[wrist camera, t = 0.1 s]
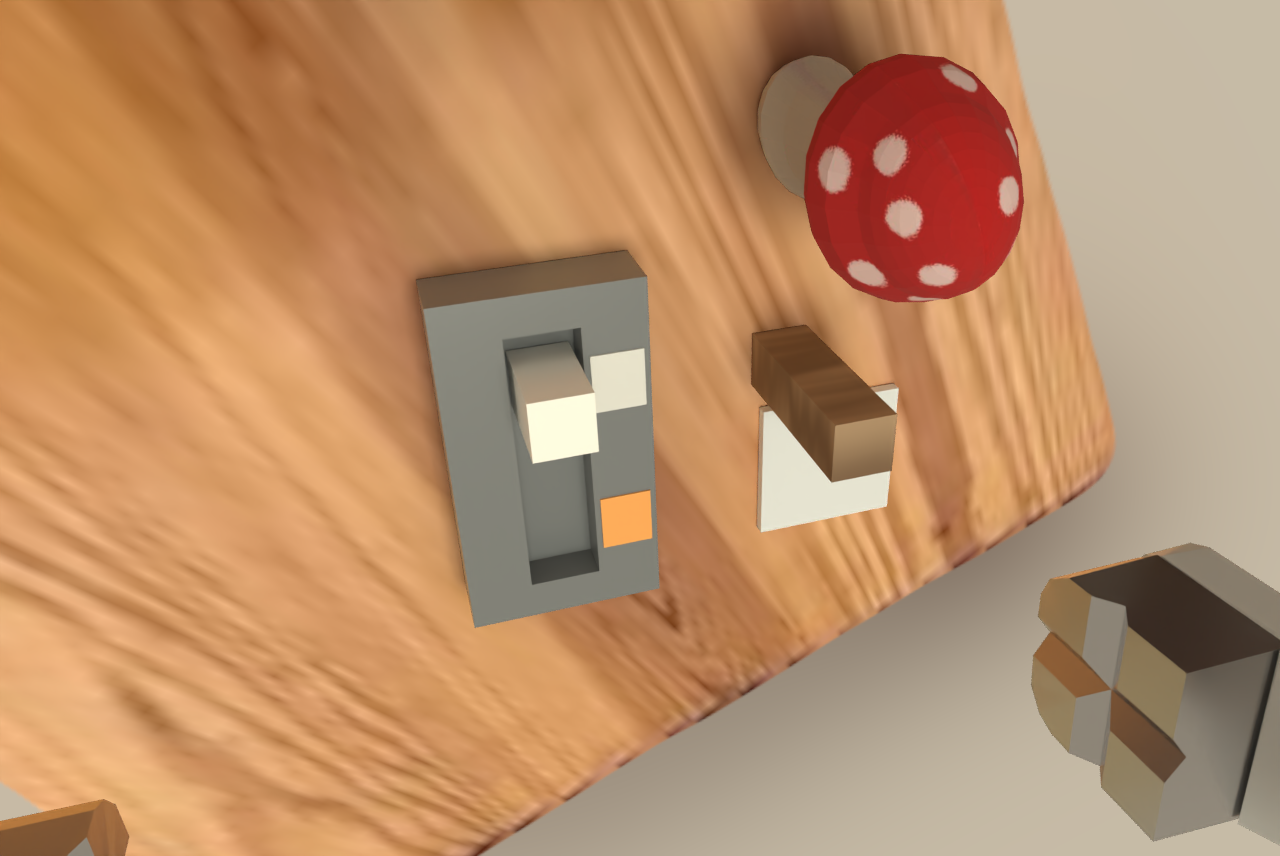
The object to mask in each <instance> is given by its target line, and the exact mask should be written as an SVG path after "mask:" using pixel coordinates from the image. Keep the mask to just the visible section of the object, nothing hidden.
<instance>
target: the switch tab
mask: <svg viewBox="0 0 1280 856" xmlns="http://www.w3.org/2000/svg"><path fill="white" fill-rule="evenodd" d="M506 358H507V367H508V375H509V384H510V392H511V400H512V407H513V410H514V413H515V416H516V418H517V421H518V424H519V427H520V429H521V432H522V435H523V438H524V441H525V443H526V446H527V449H528V452H529V454H530V457H531V460H532V463H533V464H534V463H540V462H545V461H550V460H556V459H561V458H567V457H572V456H578V455H583V454H589V453H594V452H599V445H598V431H597V417H596V403H595V392H594V390H593V388H592V386H591V385H590V383H589V381H588V379H587V377H586V375H585V373H584V371H583V369H582V367H581V365H580V363H579V361H578V359H577V358H576V356H575V354H574V352H573V350H572V348H571V346H570V344H569V342H568V341H566V342H560V343H554V344H547V345H541V346H535V347H528V348H522V349H516V350H509V351H506Z"/></svg>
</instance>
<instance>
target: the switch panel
mask: <svg viewBox="0 0 1280 856" xmlns="http://www.w3.org/2000/svg"><path fill="white" fill-rule="evenodd" d="M416 283H417V289H418V295H419V301H420V307H421V313H422V320H423V326H424V332H425V338H426V344H427V350H428V356H429V363H430V369H431V375H432V381H433V387H434V393H435V399H436V405H437V412H438V418H439V424H440V430H441V436H442V442H443V448H444V454H445V461H446V467H447V473H448V479H449V485H450V491H451V497H452V503H453V510H454V516H455V522H456V528H457V534H458V540H459V546H460V553H461V559H462V565H463V571H464V577H465V583H466V589H467V593H468V598H469V603H470V607H471V612H472V617H473V622H474V626H475V628H476V627H481V626H486V625H490V624H495V623H500V622H504V621H509V620H513V619H518V618H523V617H527V616H532V615H537V614H541V613H546V612H551V611H555V610H560V609H565V608H569V607H574V606H579V605H583V604H588V603H592V602H597V601H602V600H606V599H611V598H616V597H620V596H625V595H630V594H634V593H639V592H644V591H648V590H653V589H658V588H659V566H658V541H657V516H656V490H655V465H654V439H653V414H652V388H651V363H650V337H649V312H648V286H647V276H646V274H645V273H644V272H643V270H642V269H641V268H640V267H639V265H638V264H637V263H636V261H635V260H634V259H633V258H632V256H631V255H630V254H629V252H628V251H627V250H625V251H618V252H610V253H603V254H596V255H589V256H582V257H575V258H568V259H560V260H553V261H546V262H539V263H532V264H525V265H518V266H510V267H503V268H496V269H489V270H482V271H475V272H468V273H460V274H453V275H446V276H439V277H432V278H425V279H418V280H416ZM566 341H568V342H569V344H570V346H571V348H572V350H573V352H574V354H575V356H576V358H577V359H578V361H579V363H580V365H581V367H582V369H583V371H584V373H585V375H586V377H587V379H588V381H589V383H590V385H591V386H592V388H593V390H594V392H595V403H596V417H597V431H598V445H599V452H594V453H589V454H583V455H578V456H572V457H567V458H561V459H556V460H550V461H545V462H540V463H534V464H533V463H532V460H531V457H530V454H529V452H528V449H527V446H526V443H525V441H524V438H523V435H522V432H521V429H520V427H519V424H518V421H517V418H516V416H515V413H514V410H513V407H512V400H511V392H510V384H509V375H508V367H507V358H506V351H509V350H516V349H522V348H528V347H535V346H541V345H547V344H554V343H560V342H566Z"/></svg>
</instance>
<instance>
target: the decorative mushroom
mask: <svg viewBox="0 0 1280 856" xmlns="http://www.w3.org/2000/svg"><path fill="white" fill-rule="evenodd" d="M758 133H759V137H760V142H761V146H762V149H763V152H764V155H765V157H766V160H767V162H768V164H769V165H770V167H771V169H772V171H773V173H774V175H775V177H776V178H777V179H778V180H779V181H780V182H781V183H782V184H783V185H784V186H785V187H786V188H787V189H788V190H789V191H790V192H791V193H794V194H796V195H798V196H800V197H802V198H804V199H805V203H806V208H807V213H808V218H809V222H810V227H811V231H812V234H813V236H814V239H815V240H816V242H817V244H818V246H819V248H820V249H821V251H822V253H823V255H824V257H825V259H826V260H827V262H828V264H829V266H830V268H832V269H833V270H834V271H835V272H836V273H837V274H838V275H839V276H840V277H842V278H843V279H844V280H845V281H846V282H847V283H848V284H849V285H850V286H852V287H853V288H854V289H857V290H860V291H862V292H865V293H867V294H870V295H873V296H875V297H878V298H881V299H884V300H888V301H893V302H927V301H933V300H939V299H949V298H952V297H955V296H958V295H961V294H964V293H967V292H970V291H972V290H974V289H976V288H977V287H979V286H980V285H981V284H983V283H984V282H985V281H987V280H988V279H989V278H990V277H992V276H993V275H994V274H995V273H996V272H997V270H998V269H999V267H1000V266H1001V265H1002V263H1003V262H1004V261H1005V259H1006V258H1007V257H1008V255H1009V254H1010V252H1011V249H1012V247H1013V244H1014V242H1015V239H1016V237H1017V235H1018V232H1019V229H1020V223H1021V217H1022V210H1023V204H1024V197H1023V186H1022V174H1021V170H1020V166H1019V156H1018V143H1017V139H1016V137H1015V134H1014V131H1013V129H1012V126H1011V124H1010V121H1009V118H1008V116H1007V113H1006V110H1005V109H1004V108H1003V107H1002V105H1001V104H1000V103H999V102H998V101H997V99H996V98H995V97H994V96H993V95H992V94H991V92H990V91H989V90H988V89H987V88H986V86H985V85H984V84H983V83H982V82H981V81H980V80H979V79H978V78H977V77H976V76H975V74H974V73H973V72H971V71H969V70H967V69H965V68H963V67H961V66H959V65H957V64H955V63H954V62H952V61H950V60H948V59H946V58H944V57H933V56H919V55H908V54H898V55H895V56H892V57H889V58H886V59H883V60H880V61H877V62H873V63H870V64H868V65H867V66H865V67H864V68H863V69H862V70H860V71H859V72H858V73H857V74H855V75H854V76H853V75H852V73H851V72H850V71H849V70H848V69H847V68H846V67H845V66H843V65H842V64H840V63H838V62H836V61H835V60H833V59H831V58H829V57H821V56H814V55H811V56H807V57H804V58H801V59H797V60H794V61H792V62H790V63H788V64H785V65H784V66H783V67H782V68H780V69H779V70H778V71H777V72H776V73H774V74H773V75H772V77H771V78H770V80H769V81H768V83H767V85H766V86H765V88H764V90H763V92H762V96H761V99H760V103H759V107H758Z"/></svg>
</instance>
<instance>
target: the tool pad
mask: <svg viewBox="0 0 1280 856" xmlns="http://www.w3.org/2000/svg"><path fill="white" fill-rule="evenodd" d="M870 388H871V389H872V390H873V391H874V392H875V393H876V394H877V395H878V396H879V397H880V398H881V399H882V400H883V401H884V402H885V403H887V404H888V405H889V406H890V407H891V408H892V409H893V410H894V411H895V412H896V410H897V400H898V390H899V388H898V387H897V386H896V385H895V384H894V383H893V384H887V385H881V386H876V387H870ZM889 479H890V471H888V472H883V473H878V474H873V475H868V476H863V477H858V478H853V479H848V480H843V481H838V482H833V483H831V481H830V480H829V479H828V478H827V477H826V475H825V474H824V473H823V472H822V470H821V469H820V468H819V467H818V466H817V464H816V463H815V462H814V461H813V459H812V458H811V457H810V456H809V454H808V453H807V452H806V451H805V450H804V448H803V447H802V446H801V445H800V443H799V442H798V441H797V440H796V439H795V437H794V436H793V435H792V434H791V432H790V431H789V430H788V429H787V427H786V426H785V425H784V424H783V423H782V421H781V420H780V419H779V418H778V416H777V415H776V414H775V413H774V412H773V410H772V409H771V408H770V407H769V406H764V407H760V416H759V461H758V505H757V527H758V529H759V530H760V532H765V531H770V530H775V529H780V528H785V527H790V526H794V525H799V524H804V523H809V522H814V521H818V520H823V519H828V518H833V517H838V516H843V515H847V514H852V513H857V512H862V511H867V510H871V509H876V508H881V507H886V506H887V498H888V488H889Z"/></svg>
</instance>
